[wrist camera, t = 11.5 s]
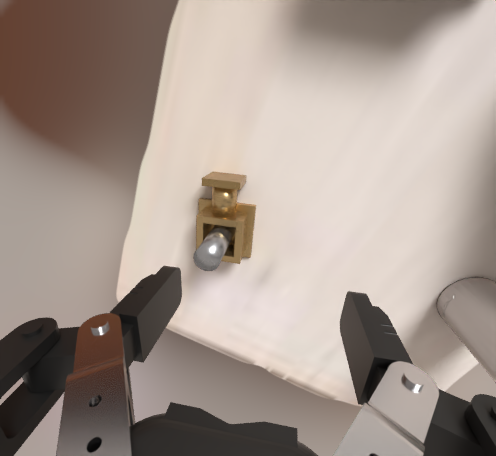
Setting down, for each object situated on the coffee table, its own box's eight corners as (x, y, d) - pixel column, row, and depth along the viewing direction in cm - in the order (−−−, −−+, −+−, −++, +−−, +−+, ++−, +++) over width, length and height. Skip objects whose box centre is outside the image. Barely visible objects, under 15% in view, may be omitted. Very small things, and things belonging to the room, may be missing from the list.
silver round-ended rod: (236, 220, 39) (220, 249, 30) (234, 240, 41) (219, 272, 32) (215, 218, 40) (193, 245, 31) (214, 237, 41) (193, 268, 32)
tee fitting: (258, 176, 37) (254, 184, 32) (250, 255, 42) (246, 271, 38) (200, 170, 38) (188, 176, 33) (199, 248, 43) (188, 263, 38)
